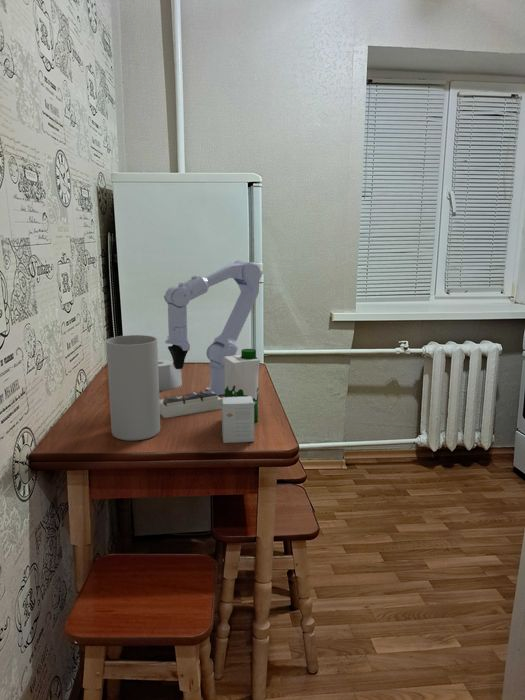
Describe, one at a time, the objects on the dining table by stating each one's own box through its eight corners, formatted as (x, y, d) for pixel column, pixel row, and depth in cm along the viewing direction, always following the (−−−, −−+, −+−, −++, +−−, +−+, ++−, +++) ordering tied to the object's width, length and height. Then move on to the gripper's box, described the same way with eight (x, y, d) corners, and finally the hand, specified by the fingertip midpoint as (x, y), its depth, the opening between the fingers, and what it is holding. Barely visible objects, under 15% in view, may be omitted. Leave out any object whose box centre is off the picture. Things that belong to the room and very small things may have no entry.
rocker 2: (196, 395, 155) (195, 391, 154) (199, 398, 152) (198, 393, 152) (182, 400, 153) (181, 396, 152) (186, 403, 151) (185, 398, 150)
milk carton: (262, 422, 144) (262, 352, 140) (231, 426, 141) (231, 355, 137) (250, 412, 152) (250, 346, 148) (221, 416, 149) (220, 348, 144)
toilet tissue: (187, 385, 179) (187, 361, 177) (154, 393, 170) (153, 367, 168) (173, 379, 185) (172, 356, 183) (140, 386, 177) (139, 362, 175)
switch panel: (223, 399, 164) (223, 387, 163) (234, 406, 157) (234, 393, 157) (155, 409, 154) (155, 397, 153) (164, 418, 147) (163, 404, 146)
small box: (252, 433, 136) (252, 395, 134) (254, 442, 131) (254, 402, 129) (221, 435, 135) (221, 396, 133) (222, 443, 130) (222, 403, 128)
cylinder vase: (162, 439, 132) (159, 343, 127) (112, 444, 129) (106, 346, 123) (158, 422, 144) (154, 334, 138) (111, 426, 140) (106, 336, 135)
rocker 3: (212, 396, 157) (213, 391, 157) (216, 398, 155) (217, 393, 155) (199, 395, 155) (200, 390, 155) (202, 397, 153) (203, 392, 153)
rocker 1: (178, 401, 152) (178, 396, 152) (181, 403, 150) (182, 399, 150) (163, 400, 150) (164, 395, 150) (166, 403, 148) (167, 398, 147)
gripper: (157, 323, 164) (159, 364, 167) (173, 330, 151) (174, 375, 154) (178, 321, 167) (180, 362, 170) (195, 328, 155) (196, 372, 158)
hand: (178, 368), depth 162 cm, fingers closed
